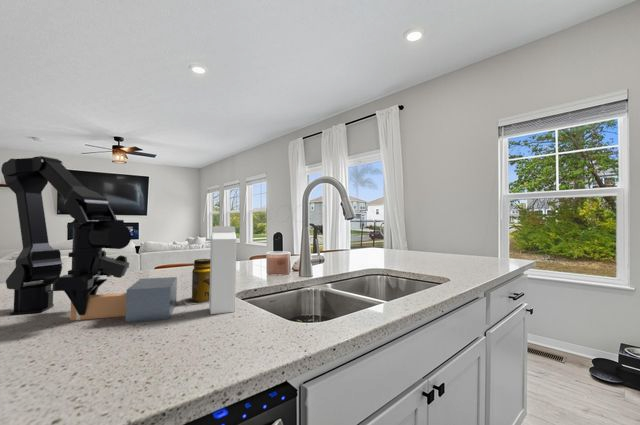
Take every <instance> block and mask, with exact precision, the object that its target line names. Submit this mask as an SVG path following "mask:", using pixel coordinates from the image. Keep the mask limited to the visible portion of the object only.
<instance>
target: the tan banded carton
mask: <svg viewBox="0 0 640 425" xmlns="http://www.w3.org/2000/svg"><path fill="white" fill-rule="evenodd" d="M126 294H127V292H116V293H104V294H101V293H100V294H96V295H90V296H89V300H88V305H87V309H86V313H85V315H79V314H78V312H77V310H76V309H75V307H74V305H73V304H72V302H71V301H70V316H69V318H70V319H69V320H70V321H82V320H93V319H103V318H116V317H126Z"/></svg>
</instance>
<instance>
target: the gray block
mask: <svg viewBox="0 0 640 425" xmlns="http://www.w3.org/2000/svg"><path fill="white" fill-rule="evenodd" d="M177 284H178V277H177V276H173V277H172V276H171V277H153V278H151V277H149V278H140V279H139V280H137V281H136V282H134V283H133V284H132V285H131V286H129V287H128V288H127V289H126V293H127V294H126V316H125V324H127V323H129V324H130V323H139V322H149V321H153V322H154V321H160V320H161V321H163V320H171V319H170V318H171V317H172V314H173V313H174V310H175V308H176V305H177V295H178V294H177V292H178V291H177V290H178V286H177Z"/></svg>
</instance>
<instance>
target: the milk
mask: <svg viewBox="0 0 640 425" xmlns="http://www.w3.org/2000/svg"><path fill="white" fill-rule="evenodd" d="M237 242H238V241H237V235H236V227H235V226H232V225H231V226H227V225H226V226H225V225H223V226H221V225H219V226H212V227H211V236H210V254H209V256H210V257H209V259H210V301H209V306H208V307H209V308H208V309H209V311H210V315H218V314H219V315H220V314H227V313H234V312H236V289H237V288H236V286H237V280H236V279H237Z"/></svg>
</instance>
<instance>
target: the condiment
mask: <svg viewBox="0 0 640 425" xmlns="http://www.w3.org/2000/svg"><path fill="white" fill-rule="evenodd" d="M193 264H194V265H193V269H192V273H191V274H192V276H191V278H192V279H191V297H190V298H187V297H185V298H181V300H182V301H183V303H184V304H185V306H189V305H190V306H191V305H197V304H208V303H209V301H210V258H199V259H195V260H194V261H193Z"/></svg>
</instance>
